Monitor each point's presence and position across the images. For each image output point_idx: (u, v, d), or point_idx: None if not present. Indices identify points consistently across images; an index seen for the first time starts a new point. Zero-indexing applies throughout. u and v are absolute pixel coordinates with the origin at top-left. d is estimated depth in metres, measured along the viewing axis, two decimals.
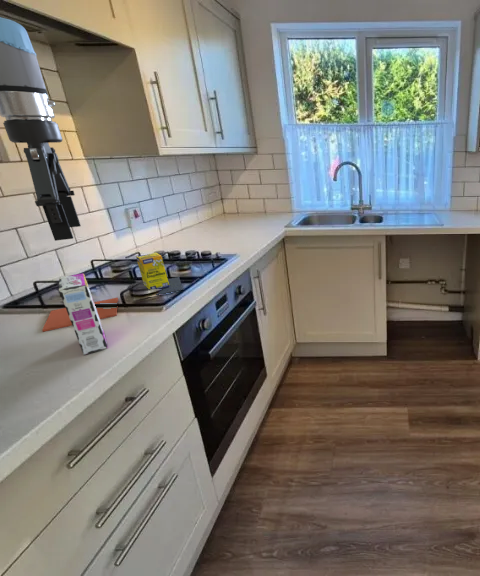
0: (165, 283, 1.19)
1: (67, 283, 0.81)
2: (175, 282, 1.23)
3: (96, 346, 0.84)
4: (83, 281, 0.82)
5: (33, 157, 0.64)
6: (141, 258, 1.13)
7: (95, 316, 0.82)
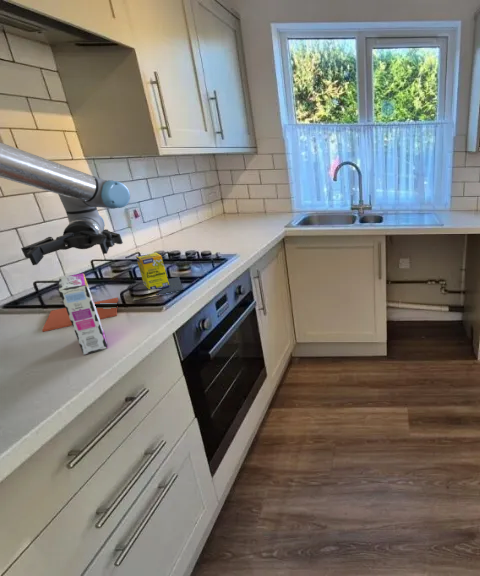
0: (165, 283, 1.19)
1: (67, 283, 0.81)
2: (175, 282, 1.23)
3: (96, 346, 0.84)
4: (83, 281, 0.82)
5: None
6: (141, 258, 1.13)
7: (95, 316, 0.82)
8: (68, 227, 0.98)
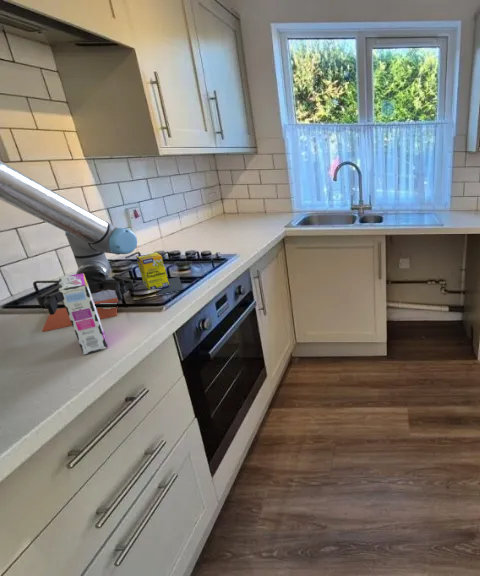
0: (165, 283, 1.19)
1: (67, 283, 0.81)
2: (175, 282, 1.23)
3: (96, 346, 0.84)
4: (83, 281, 0.82)
5: None
6: (141, 258, 1.13)
7: (95, 316, 0.82)
8: (79, 273, 1.01)
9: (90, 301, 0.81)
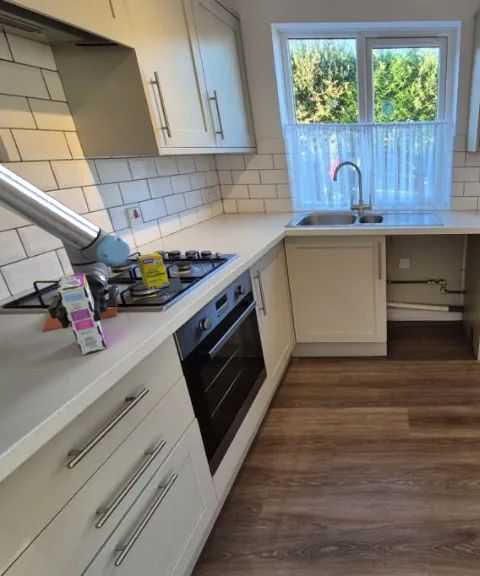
0: (165, 283, 1.19)
1: (66, 283, 0.80)
2: (175, 282, 1.23)
3: (95, 346, 0.84)
4: (82, 281, 0.82)
5: (116, 290, 0.96)
6: (141, 258, 1.13)
7: (94, 316, 0.82)
8: None
9: (89, 301, 0.81)
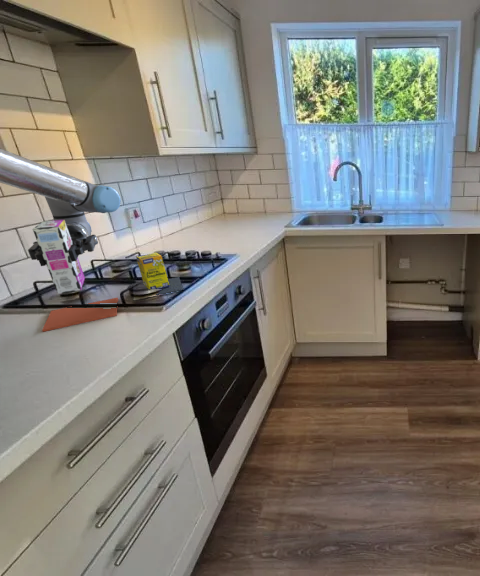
0: (165, 283, 1.19)
1: (43, 225, 0.85)
2: (175, 282, 1.23)
3: (70, 287, 0.88)
4: (58, 224, 0.86)
5: (94, 239, 1.00)
6: (141, 258, 1.13)
7: (68, 258, 0.87)
8: None
9: (63, 242, 0.85)
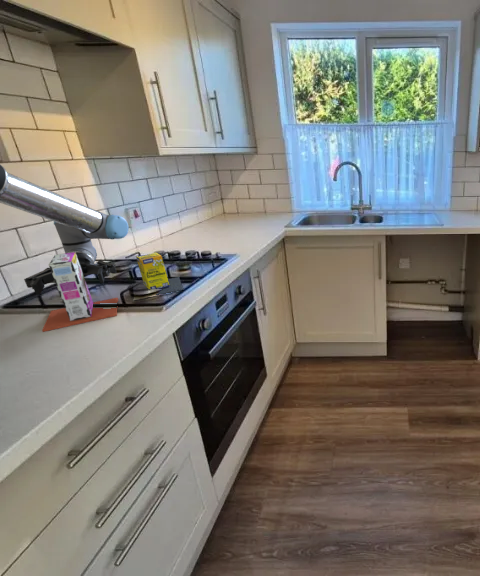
0: (165, 283, 1.19)
1: (57, 259, 0.95)
2: (175, 282, 1.23)
3: (81, 314, 0.98)
4: (71, 258, 0.96)
5: None
6: (141, 258, 1.13)
7: (80, 288, 0.97)
8: None
9: (75, 275, 0.95)
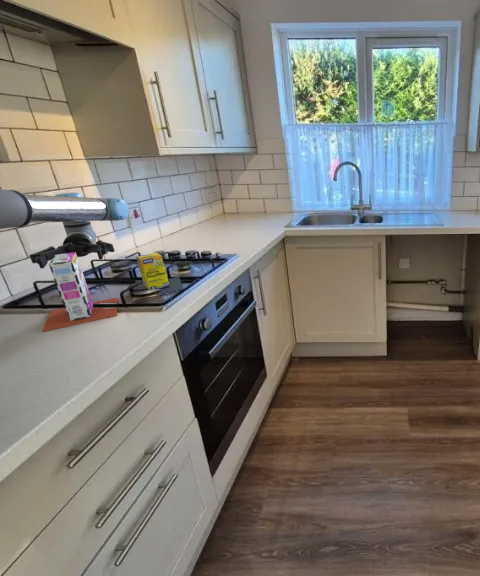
0: (165, 283, 1.19)
1: (58, 259, 0.95)
2: (175, 282, 1.23)
3: (81, 314, 0.98)
4: (71, 258, 0.96)
5: None
6: (141, 258, 1.13)
7: (80, 288, 0.97)
8: (67, 238, 1.17)
9: (75, 275, 0.95)
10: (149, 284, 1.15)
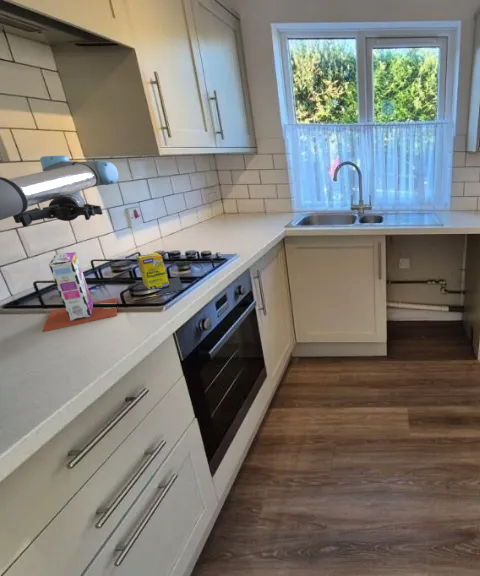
0: (165, 283, 1.19)
1: (58, 259, 0.95)
2: (175, 282, 1.23)
3: (81, 314, 0.98)
4: (71, 258, 0.96)
5: None
6: (141, 258, 1.13)
7: (80, 288, 0.97)
8: (53, 200, 1.12)
9: (75, 275, 0.95)
10: (149, 284, 1.15)
